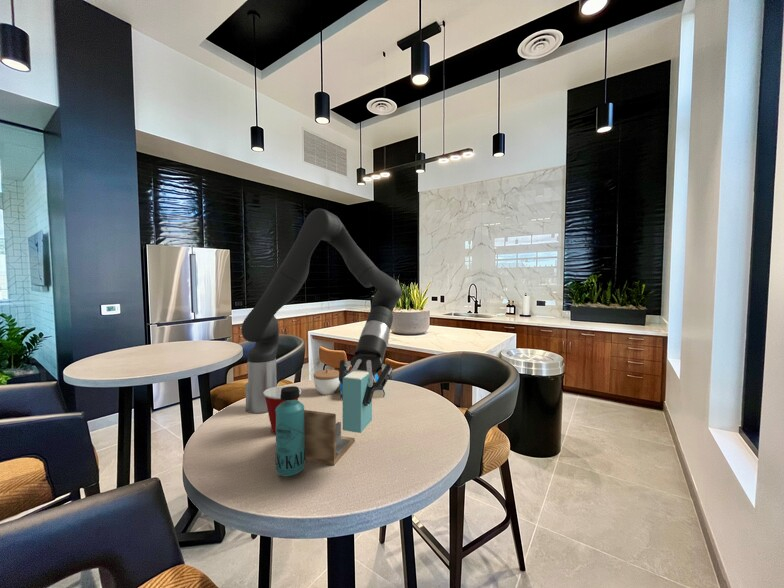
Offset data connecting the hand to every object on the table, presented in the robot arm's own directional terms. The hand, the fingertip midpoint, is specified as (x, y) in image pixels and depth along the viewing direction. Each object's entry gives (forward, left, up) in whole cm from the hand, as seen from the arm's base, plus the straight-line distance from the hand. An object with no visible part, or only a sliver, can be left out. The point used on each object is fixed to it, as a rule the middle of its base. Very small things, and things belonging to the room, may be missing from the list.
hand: (354, 403), depth 73 cm
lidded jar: (-25, +52, -16) cm, 60 cm away
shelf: (-13, +9, -16) cm, 22 cm away
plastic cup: (-27, +18, -16) cm, 36 cm away
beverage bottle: (-14, -3, -16) cm, 22 cm away
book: (-12, +58, -17) cm, 61 cm away
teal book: (0, +2, -6) cm, 6 cm away
